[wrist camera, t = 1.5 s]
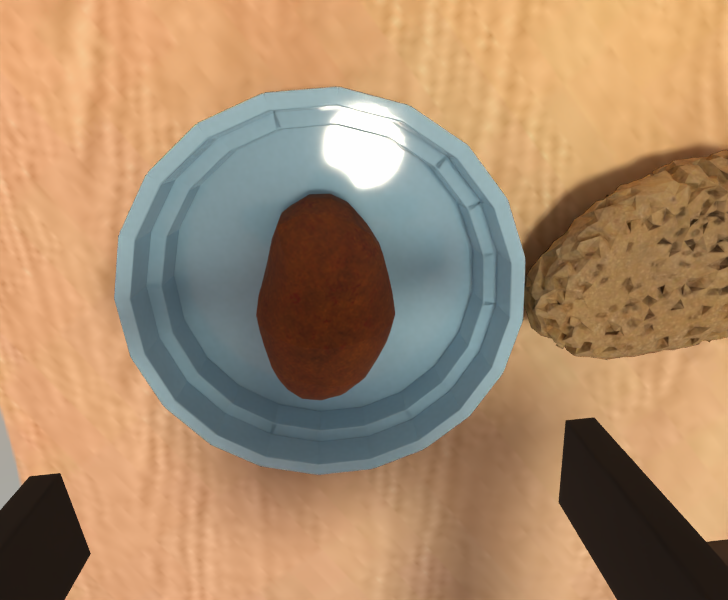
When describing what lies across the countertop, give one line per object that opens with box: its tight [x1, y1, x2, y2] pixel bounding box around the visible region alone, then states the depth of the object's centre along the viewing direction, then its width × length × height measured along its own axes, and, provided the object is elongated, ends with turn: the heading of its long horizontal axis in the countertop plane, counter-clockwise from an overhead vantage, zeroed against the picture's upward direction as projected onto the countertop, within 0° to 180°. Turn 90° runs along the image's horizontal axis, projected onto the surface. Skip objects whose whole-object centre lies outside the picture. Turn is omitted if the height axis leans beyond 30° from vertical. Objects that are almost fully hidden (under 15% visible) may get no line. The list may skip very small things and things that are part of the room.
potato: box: [256, 194, 395, 400], centre depth 26 cm, size 8×12×8 cm, turn 179°
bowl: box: [114, 87, 525, 475], centre depth 27 cm, size 22×22×5 cm
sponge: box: [524, 150, 728, 360], centre depth 27 cm, size 13×8×20 cm
